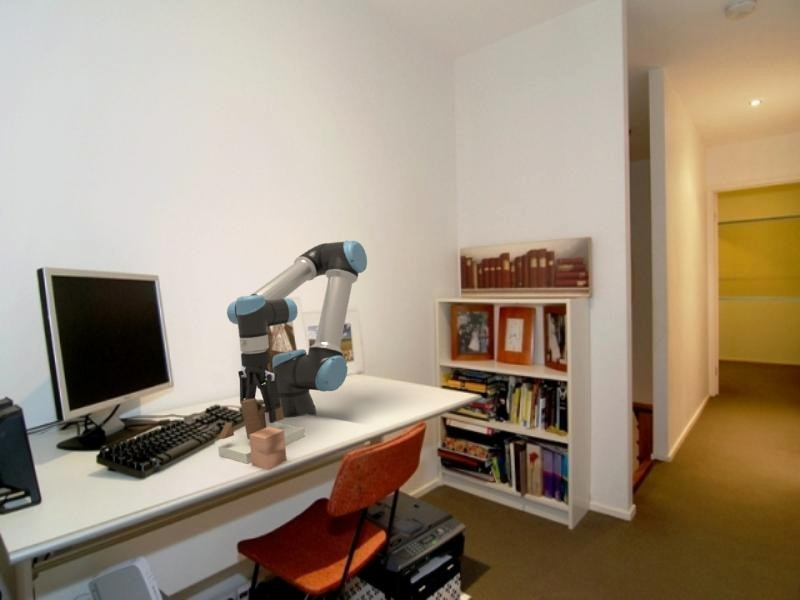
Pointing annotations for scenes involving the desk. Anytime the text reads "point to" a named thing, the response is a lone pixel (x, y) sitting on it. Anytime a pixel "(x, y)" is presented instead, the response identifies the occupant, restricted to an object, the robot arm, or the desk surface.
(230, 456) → the base plate
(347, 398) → the desk surface
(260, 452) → the terracotta brick
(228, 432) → the wooden block set
